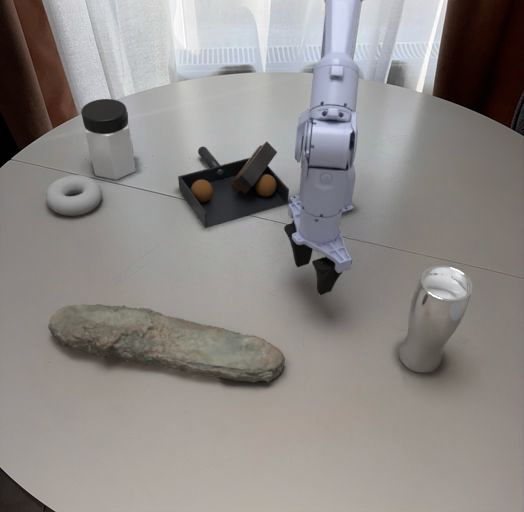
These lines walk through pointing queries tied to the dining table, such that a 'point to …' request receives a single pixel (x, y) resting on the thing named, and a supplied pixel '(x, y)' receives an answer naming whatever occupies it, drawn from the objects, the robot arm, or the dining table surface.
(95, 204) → the donut
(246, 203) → the dustpan
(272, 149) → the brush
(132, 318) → the elongated rock
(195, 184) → the cork ball
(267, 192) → the cork ball
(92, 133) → the jar
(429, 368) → the beer glass
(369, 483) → the dining table surface
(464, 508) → the dining table surface
